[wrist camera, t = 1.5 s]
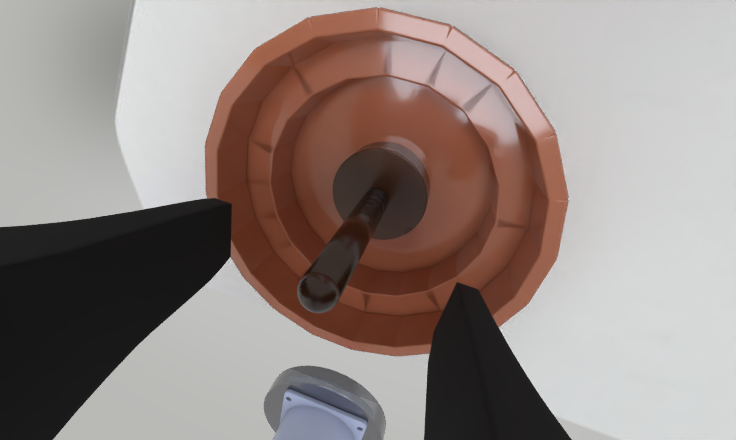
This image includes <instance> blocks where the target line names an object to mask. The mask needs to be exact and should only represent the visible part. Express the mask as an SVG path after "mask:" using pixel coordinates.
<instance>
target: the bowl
mask: <svg viewBox="0 0 736 440" xmlns="http://www.w3.org/2000/svg"><path fill="white" fill-rule="evenodd" d="M376 142H391V143H395V144H399V145H401V146H403V147H405V148H407V149H409V150H410V151H412V152H413V153H414V154H415V155H416V156H417V157H418V158H419V159H420V160H421V162H422V163H423V165H424V166H425V169H426V171H427V173H428V177H429V182H430V192H429V197H428V202H427V206H426V210H425V213H424V215H423V217H422V219H421V220H420V222H419V223H418V225H417V226H416V227H415V228H414V229H413V230H411V231H410V232H408V233H407V234H405V235H403V236H401V237H398V238H394V239H388V240H378V239H373V238H371V239H370V241H369V243H368V245H367V247H366V249H365V251H364V253H363V255H362V257H361V259H360V261H359V263H358V265H357V266H356V268H355V270H354V272H353V274H352V276H351V278H350V280H349V282H348V284H347V286H346V288H345V290H344V292H343V294H342V296H341V297H340V299H339V301H338V303H337V304H336V305H335V307H333V308H332V309H331V310H329V311H327V312H324V313H313V312H310V311H308V310H307V309H305V308H304V307H303V306H302V305H301V303H300V301H299V299H298V294H297V289H298V285H299V282H300V280H301V278H302V277H303V276H304V274H305V273H306V272H307V270H308V269H309V268H310V266H311V265H312V264H313V262H314V261H315V260H316V258H317V257H318V256H319V254H320V253H321V252H322V250H323V249H324V248H325V246H326V245H327V244H328V242H329V241H330V240H331V238H332V237H333V236H334V234H335V233H336V232H337V230H338V229H339V228H340V226H341V225H342V224H343V222H344V221H343V219H342V218H341V216H340V215H339V213H338V211H337V209H336V206H335V203H334V200H333V182H334V178H335V175H336V173H337V171H338V169H339V167H340V166H341V165H342V163H343V162H344V161H345V160H346V159H348V158H349V157H350V156H351V155H352V154H354V153H355V152H356V151H357V150H359V149H360V148H362V147H364V146H366V145H368V144H371V143H376ZM205 144H206V145H205V172H206V196H207V199H209V198H216V199H219V200H222V201H225V202H228V203H231V204H232V224H231V258H232V260H233V261H234V263H235V265H236V266H237V268H238V270H239V271H240V273H241V275H242V276H243V277H244V279H245V280H246V281H247V282H248V283H249V284H250V285H251V286H252V287H253V288H254V289H255V290H256V291H257V292H258V293H259V294H260V295H261V296H262V297H263V298H264V299H265V300H266V301H267V302H268V303H269V304H270V305H271V306H272V307H273V308H274V309H275V310H276V311H278V312H279V313H281V314H282V315H284V316H286V317H287V318H288V319H290V320H291V321H293V322H294V323H296V324H298V325H299V326H301V327H302V328H304V329H305V330H306V331H308V332H310V333H312V334H313V335H316V336H318V337H321V338H323V339H326V340H328V341H331V342H334V343H336V344H338V345H341V346H344V347H346V348H349V349H353V350H357V351H363V352H371V353H377V354H383V355H390V356H408V355H419V354H430V349H431V344H432V338H433V332H434V330H435V327H436V325H437V323H438V321H439V319H440V317H441V315H442V313H443V311H444V308H445V306H446V304H447V302H448V300H449V298H450V296H451V294H452V291H453V289H454V287H455V285H456V283H457V282H459V283H462V284H465V285H467V286H470V287H473V288H476V289H478V290H479V292H480V294H481V295H482V297H483V299H484V301H485V303H486V305H487V307H488V309H489V311H490V313H491V315H492V316H493V318H494V320H495V322H496V324H497V326H498V327H500V326H501V325H502V324H503V323H505V322H506V321H507V320H509V319H510V318H511V317H512V316H514V315H515V314H516V313H518V312H519V311H520V310H521V309H523V308H524V307H525V306H527V304H528V303H529V302H530V300H531V299H532V297H533V296H534V294H535V293H536V291H537V289H538V288H539V286H540V285H541V283H542V282H543V280H544V278H545V277H546V275H547V274H548V272H549V271H550V269H551V267H552V266H553V264H554V263H555V261H556V258H557V257H558V252H559V247H560V242H561V237H562V232H563V227H564V222H565V216H566V211H567V206H568V197H569V196H568V191H567V186H566V181H565V175H564V170H563V165H562V160H561V155H560V150H559V145H558V139H557V135H556V133H555V130H554V128H553V127H552V125H551V124H550V122H549V121H548V119H547V117H546V116H545V114H544V113H543V111H542V110H541V108H540V107H539V105H538V104H537V102H536V101H535V99H534V97H533V96H532V94H531V93H530V91H529V90H528V88H527V87H526V85H525V84H524V82H523V80H522V79H521V77H520V76H519V74H518V73H517V72H516V71H515V70H514V69H513V68H512V67H511V66H509V65H508V64H506V63H505V62H504V61H502V60H501V59H499V58H498V57H497V56H495V55H494V54H492V53H491V52H490V51H488V50H487V49H485V48H484V47H483V46H481V45H480V44H478V43H477V42H476V41H474V40H473V39H471V38H470V37H468V36H467V35H466V34H464V33H463V32H461V31H460V30H459V29H457V28H456V27H454V26H451V25H450V24H446V23H442V22H438V21H434V20H430V19H426V18H422V17H418V16H414V15H410V14H406V13H402V12H398V11H393V10H389V9H385V8H377V7H375V8H368V9H361V10H353V11H346V12H339V13H332V14H325V15H318V16H312V17H310V18H306V19H304V20H303V21H301V22H299V23H298V24H296V25H294V26H293V27H291V28H289V29H288V30H286V31H284V32H282V33H281V34H279V35H277V36H276V37H274V38H272V39H271V40H269V41H267V42H265V43H264V44H262V45H260V46H259V47H257V48H256V49H255V50H253V52H252V53H251V54H250V56H249V57H248V58H247V60H246V61H245V62H244V63H243V65H242V66H241V67H240V69H239V70H238V71H237V73H236V74H235V75H234V77H233V78H232V79H231V80H230V82H229V83H228V84H227V86H226V87H225V88H224V90H223V91H222V92H221V95H220V97H219V100H218V103H217V107H216V110H215V113H214V116H213V120H212V123H211V126H210V129H209V133H208V136H207V139H206V142H205Z"/></svg>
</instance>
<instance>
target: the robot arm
mask: <svg viewBox="0 0 736 440" xmlns="http://www.w3.org/2000/svg"><path fill="white" fill-rule="evenodd" d="M231 224H232V204H231V203H228V202H225V201H222V200H219V199H216V198H209V199H200V200H194V201H188V202H182V203H177V204H171V205H166V206H161V207H155V208H150V209H144V210H139V211H134V212H127V213H121V214H115V215H109V216H102V217H96V218H90V219H82V220H75V221H67V222H58V223H48V224H38V225H27V226H14V227H0V440H53V439H54V437H55V436H56V435H57V434H58V433H59V432H60V430H61V429H62V428H63V427H64V426H65V424H66V423H67V422H68V421H69V420H70V419H71V417H72V416H73V415H74V414H75V413H76V411H77V410H78V409H79V408H80V407H81V406H82V405H83V404H84V402H85V401H86V400H87V399H88V398H89V397H90V396H91V395H92V394H93V392H94V391H95V390H96V389H97V388H98V387H99V386H100V385H101V384H102V382H103V381H104V380H105V379H106V378H107V377H108V376H109V375H110V374H111V373H112V371H113V370H114V369H115V368H116V367H117V366H118V365H119V364H120V363H121V362H122V361H123V360H124V359H125V358H126V357H127V356H128V355H129V354H130V353H131V351H132V350H133V349H134V348H135V347H136V346H137V345H138V344H139V343H140V342H142V341H143V340H144V339H145V338H146V337H147V336H148V335H149V334H150V333H151V332H152V331H153V330H155V329H156V328H157V327H158V326H159V325H160V324H161V323H163V321H165V320H166V319H167V318H168V317H169V316H170V315H172V314H173V313H174V312H175V311H176V310H177V309H179V308H180V307H181V306H182V305H183V304H184V303H185V302H186V301H188V299H190V298H191V297H192V296H193V295H194V294H195V293H197V292H198V291H199V290H200V289H201V288H202V287H203V286H205V285H206V284H207V283H208V282H209V281H210V280H211V279H212V278H213V277H214V275H215V274H216V273H217V272H218V271H219V270H220V269H221V268H222V266H223V265H224V264H225V263H226V262H227V260H228V259H229V258H230V257H231ZM366 428H367V421H366V420H364V419H362V418H360V417H358V416H355V415H353V414H350V413H348V412H346V411H343V410H341V409H338V408H336V407H333V406H331V405H329V404H326V403H324V402H321V401H319V400H317V399H314V398H312V397H309V396H307V395H305V394H302V393H300V392H297V391H295V390H292V389H287V390H286V392H285V394H284V400H283V406H282V412H281V417H280V423H279V428H278V430H277V432H276V434H275V436H274V438H273V440H362V437H363V435H364V433H365V430H366ZM424 440H571V438H570V437H569V436H568V434H567V433H566V431H565V430H564V429H563V427H562V426H561V425H560V423H559V422H558V421H557V419H556V418H555V416H554V415H553V414H552V412H551V411H550V410H549V408H548V407H547V405H546V404H545V402H544V401H543V400H542V398H541V397H540V395H539V394H538V392H537V391H536V389H535V388H534V386H533V384H532V383H531V381H530V380H529V378H528V377H527V375H526V374H525V372H524V370H523V369H522V367H521V366H520V364H519V362H518V361H517V359H516V357H515V356H514V354H513V352H512V351H511V349H510V347H509V346H508V344H507V342H506V340H505V338H504V337H503V335H502V333H501V331H500V329H499V328H498V326H497V324H496V322H495V320H494V318H493V316H492V315H491V313H490V311H489V309H488V307H487V305H486V303H485V301H484V299H483V297H482V295H481V294H480V292H479V290H478V289H476V288H473V287H470V286H467V285H465V284H462V283H459V282H457V283H456V285H455V287H454V289H453V291H452V294H451V296H450V298H449V300H448V302H447V304H446V306H445V308H444V311H443V313H442V315H441V317H440V319H439V321H438V323H437V325H436V327H435V330H434V332H433V338H432V344H431V349H430V355H429V361H428V374H427V393H426V413H425V435H424Z"/></svg>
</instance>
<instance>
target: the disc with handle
mask: <svg viewBox="0 0 736 440" xmlns="http://www.w3.org/2000/svg"><path fill="white" fill-rule="evenodd" d="M429 192H430V182H429V177H428V173H427V171H426V169H425V166H424V165H423V163H422V162H421V160H420V159H419V158H418V157H417V156H416V155H415V154H414V153H413V152H412V151H410V150H409V149H407V148H405V147H403V146H401V145H399V144H395V143H391V142H376V143H371V144H368V145H366V146H364V147H362V148H360V149H359V150H357V151H356V152H355V153H354V154H352V155H351V156H350V157H349V158H348V159H346V160H345V161H344V162H343V163H342V165H341V166H340V167H339V169H338V171H337V173H336V175H335V178H334V182H333V200H334V203H335V206H336V209H337V211H338V213H339V215H340V216H341V218H342V219H343V221H344V222H343V224H342V225H341V226H340V228H339V229H338V230H337V232H336V233H335V234H334V236H333V237H332V238H331V240H330V241H329V242H328V244H327V245H326V246H325V248H324V249H323V250H322V252H321V253H320V254H319V256H318V257H317V258H316V260H315V261H314V262H313V264H312V265H311V266H310V268H309V269H308V270H307V272H306V273H305V274H304V276H303V277H302V278H301V280H300V282H299V285H298V289H297V294H298V299H299V301H300V303H301V305H302V306H303V307H304V308H305V309H307V310H308V311H310V312H313V313H324V312H327V311H329V310H331V309H332V308H333V307H335V305H336V304H337V303H338V301H339V299H340V297H341V296H342V294H343V292H344V290H345V288H346V286H347V284H348V282H349V280H350V278H351V276H352V274H353V272H354V270H355V268H356V266H357V265H358V263H359V261H360V259H361V257H362V255H363V253H364V251H365V249H366V247H367V245H368V243H369V241H370V239H371V238H373V239H378V240H388V239H394V238H398V237H401V236H403V235H405V234H407V233H408V232H410V231H411V230H413V229H414V228H415V227H416V226H417V225H418V223H419V222H420V220H421V219H422V217H423V215H424V213H425V210H426V206H427V202H428V197H429Z"/></svg>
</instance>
